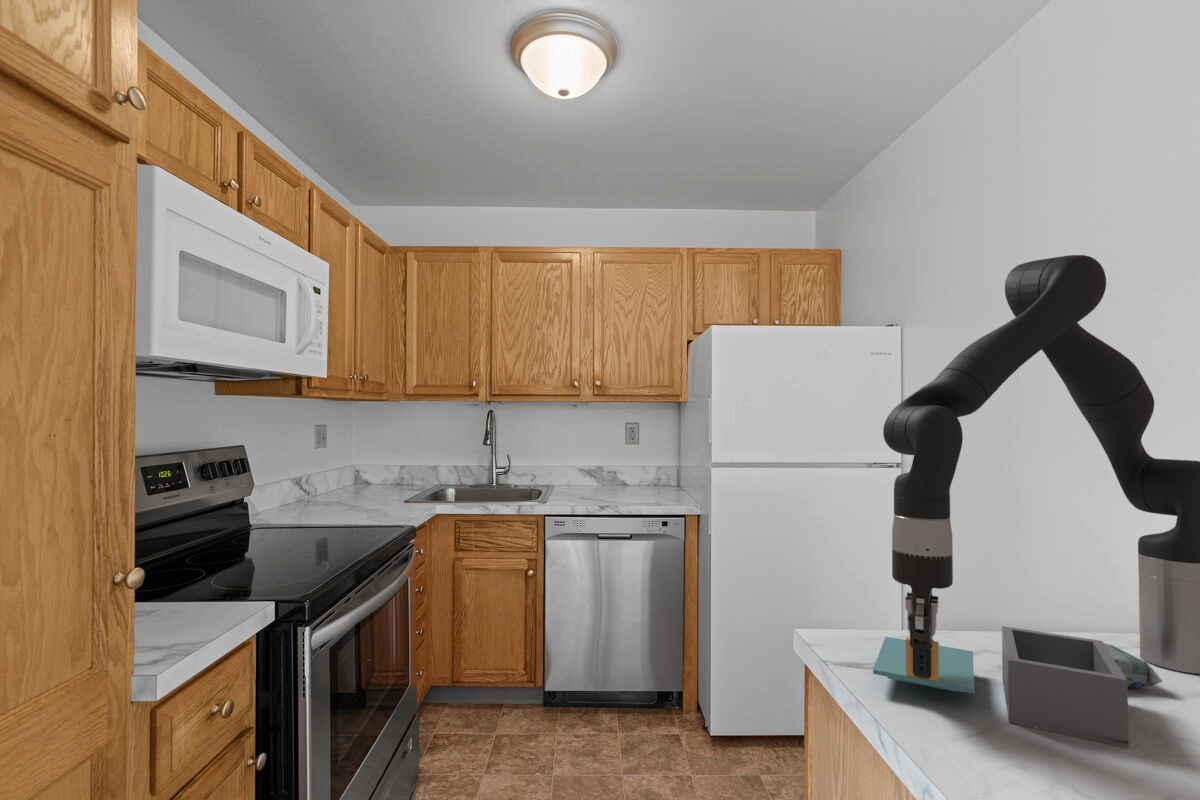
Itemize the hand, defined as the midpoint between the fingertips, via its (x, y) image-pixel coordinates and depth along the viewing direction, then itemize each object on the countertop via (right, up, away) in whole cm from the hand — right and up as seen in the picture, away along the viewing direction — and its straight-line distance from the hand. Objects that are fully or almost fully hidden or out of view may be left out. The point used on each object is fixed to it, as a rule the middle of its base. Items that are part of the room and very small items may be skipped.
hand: (922, 674), depth 86 cm
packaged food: (+32, -5, +9) cm, 34 cm away
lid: (+4, -1, +6) cm, 7 cm away
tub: (+18, -4, -2) cm, 18 cm away
